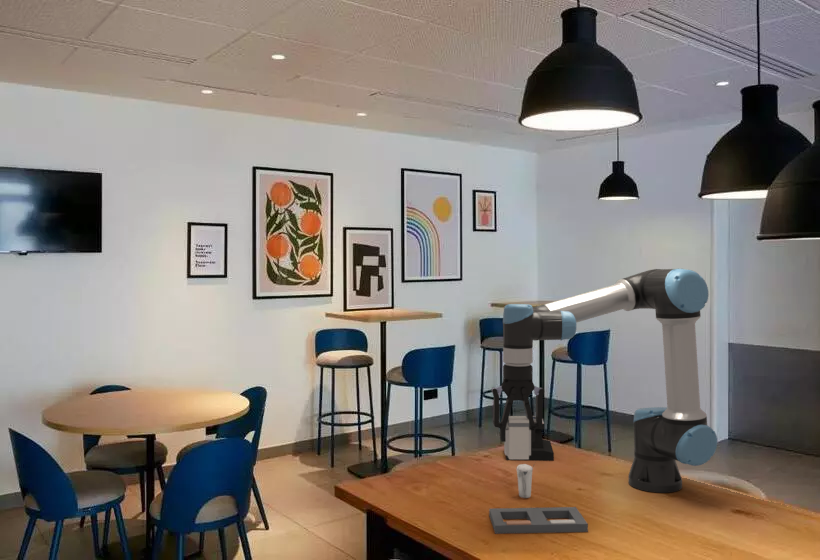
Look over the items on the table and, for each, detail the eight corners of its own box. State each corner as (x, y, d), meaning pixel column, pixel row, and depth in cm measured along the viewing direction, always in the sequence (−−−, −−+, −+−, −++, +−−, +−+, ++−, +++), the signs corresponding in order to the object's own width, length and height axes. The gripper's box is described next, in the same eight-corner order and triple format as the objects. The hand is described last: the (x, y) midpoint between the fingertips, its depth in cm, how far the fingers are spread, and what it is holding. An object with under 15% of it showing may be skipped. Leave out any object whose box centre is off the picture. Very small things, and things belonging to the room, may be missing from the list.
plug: (525, 454, 180) (525, 416, 179) (529, 459, 174) (529, 420, 174) (506, 454, 180) (506, 416, 179) (509, 459, 174) (509, 420, 174)
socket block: (575, 514, 182) (575, 505, 182) (587, 531, 170) (587, 522, 170) (489, 516, 182) (489, 507, 182) (495, 533, 170) (495, 524, 170)
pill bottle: (535, 499, 194) (535, 464, 194) (516, 498, 195) (516, 463, 195) (535, 494, 199) (535, 459, 198) (517, 493, 200) (516, 459, 200)
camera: (506, 422, 232) (504, 409, 247) (506, 463, 234) (504, 447, 249) (553, 422, 231) (549, 409, 246) (553, 464, 232) (549, 448, 247)
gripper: (549, 362, 180) (549, 450, 181) (481, 362, 180) (481, 450, 181) (555, 366, 173) (555, 458, 173) (484, 366, 173) (484, 457, 173)
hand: (517, 453), depth 177 cm, fingers closed on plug, 5 cm apart
